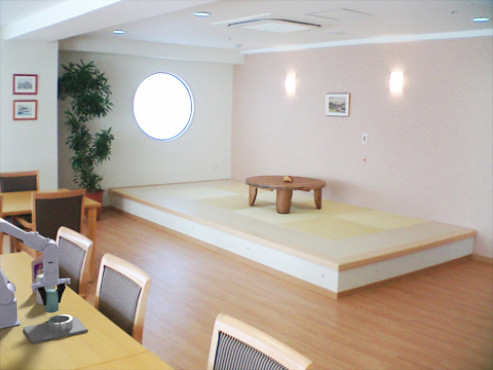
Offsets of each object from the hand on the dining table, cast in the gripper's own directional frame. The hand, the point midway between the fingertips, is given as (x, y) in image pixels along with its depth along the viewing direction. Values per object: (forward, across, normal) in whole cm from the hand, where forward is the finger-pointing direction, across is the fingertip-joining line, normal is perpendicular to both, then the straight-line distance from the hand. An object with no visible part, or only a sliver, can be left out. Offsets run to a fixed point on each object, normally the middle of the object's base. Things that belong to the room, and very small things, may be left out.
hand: (51, 303), depth 210 cm
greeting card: (+7, +4, +36) cm, 37 cm away
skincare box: (+6, +2, +19) cm, 20 cm away
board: (+6, -2, -12) cm, 14 cm away
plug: (+3, 0, 0) cm, 3 cm away
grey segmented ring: (+5, 0, -12) cm, 13 cm away
